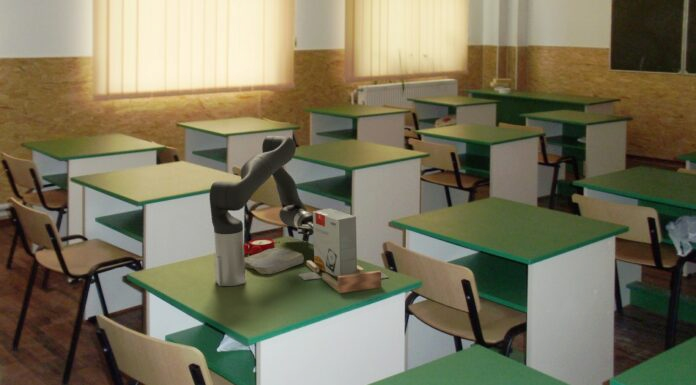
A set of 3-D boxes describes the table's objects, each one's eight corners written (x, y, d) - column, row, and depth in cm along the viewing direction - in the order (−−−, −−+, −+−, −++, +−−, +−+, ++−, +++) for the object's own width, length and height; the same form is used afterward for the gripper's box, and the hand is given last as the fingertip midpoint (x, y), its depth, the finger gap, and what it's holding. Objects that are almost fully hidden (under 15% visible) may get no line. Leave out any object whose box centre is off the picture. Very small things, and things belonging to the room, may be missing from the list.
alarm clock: (283, 240, 305) (255, 240, 293) (281, 257, 305) (253, 258, 293) (263, 236, 311) (234, 236, 299) (261, 253, 311) (232, 253, 299)
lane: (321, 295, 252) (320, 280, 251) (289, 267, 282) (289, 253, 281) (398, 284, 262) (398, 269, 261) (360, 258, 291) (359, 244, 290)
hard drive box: (313, 267, 282) (311, 211, 278) (332, 263, 286) (330, 207, 282) (339, 278, 269) (337, 219, 265) (358, 274, 274) (356, 215, 270)
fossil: (232, 270, 286) (264, 276, 274) (231, 257, 285) (263, 263, 273) (275, 259, 300) (308, 265, 288) (274, 247, 299) (307, 252, 287)
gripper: (288, 214, 301) (303, 225, 285) (323, 210, 305) (339, 221, 289) (289, 234, 302) (304, 246, 286) (323, 230, 307) (340, 241, 291)
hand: (322, 233), depth 288 cm, fingers closed
